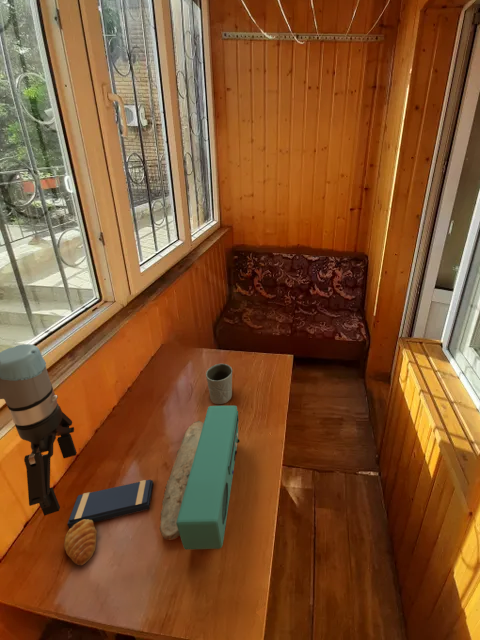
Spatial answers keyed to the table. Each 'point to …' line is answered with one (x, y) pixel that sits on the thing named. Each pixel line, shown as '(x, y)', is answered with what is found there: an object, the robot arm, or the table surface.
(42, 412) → the robot arm
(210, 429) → the teal bluetooth speaker
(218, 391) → the grey stone cup
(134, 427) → the table surface
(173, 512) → the long grey stone
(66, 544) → the pastry
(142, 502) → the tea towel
